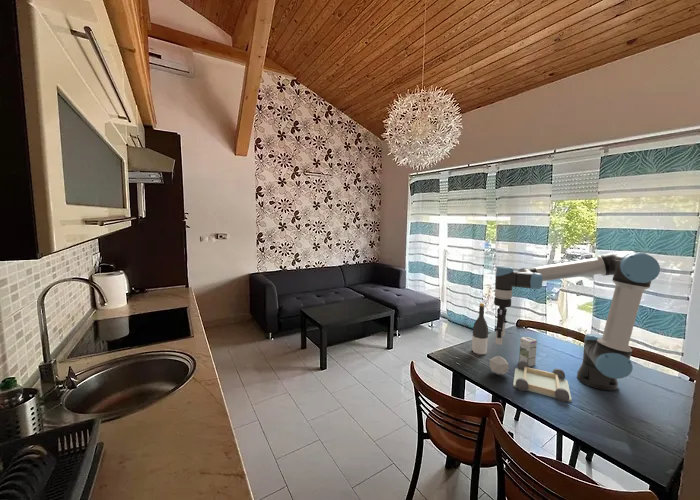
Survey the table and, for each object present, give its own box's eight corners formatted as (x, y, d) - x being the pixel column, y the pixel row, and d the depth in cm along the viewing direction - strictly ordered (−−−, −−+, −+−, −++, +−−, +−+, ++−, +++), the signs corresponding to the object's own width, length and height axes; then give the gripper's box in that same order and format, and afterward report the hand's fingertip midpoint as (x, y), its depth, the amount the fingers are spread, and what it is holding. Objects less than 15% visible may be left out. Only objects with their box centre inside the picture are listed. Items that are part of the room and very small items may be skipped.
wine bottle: (468, 352, 176) (471, 302, 173) (478, 350, 179) (481, 301, 176) (479, 357, 168) (482, 306, 166) (489, 355, 172) (492, 304, 169)
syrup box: (535, 366, 160) (537, 339, 158) (527, 367, 157) (529, 341, 156) (525, 361, 165) (527, 336, 164) (518, 363, 163) (519, 337, 161)
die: (510, 380, 145) (512, 360, 144) (490, 378, 146) (492, 358, 146) (505, 371, 153) (506, 353, 152) (486, 369, 155) (487, 351, 154)
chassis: (566, 380, 145) (567, 370, 145) (571, 404, 126) (572, 393, 125) (515, 368, 157) (516, 359, 156) (512, 388, 137) (513, 378, 137)
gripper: (497, 291, 159) (494, 330, 161) (491, 301, 138) (488, 346, 140) (513, 293, 155) (510, 333, 157) (509, 304, 134) (506, 349, 136)
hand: (500, 339), depth 148 cm, fingers open, 13 cm apart
